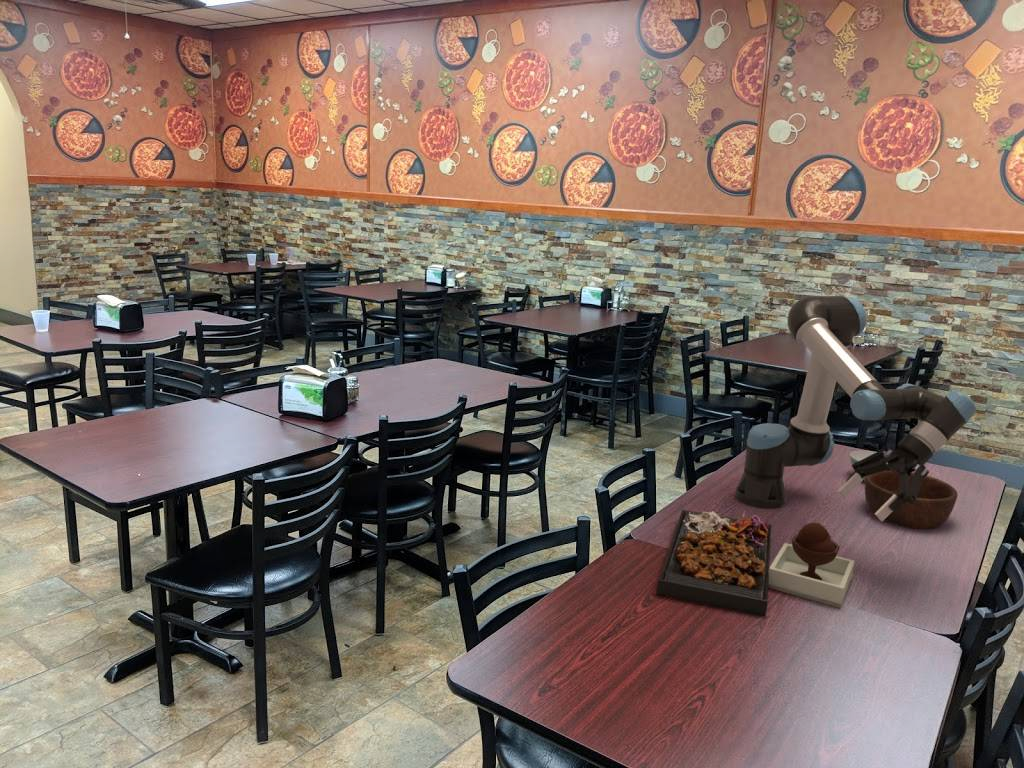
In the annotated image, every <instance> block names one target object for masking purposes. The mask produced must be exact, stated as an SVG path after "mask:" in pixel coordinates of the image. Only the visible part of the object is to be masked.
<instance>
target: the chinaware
mask: <svg viewBox="0 0 1024 768" xmlns="http://www.w3.org/2000/svg"><path fill="white" fill-rule="evenodd" d="M876 452H877V451H871V450H856V451H852V452H850V453H849V459H850V464H851V466H852V465H853V464H854V463H856V462H858V461H860V460H862V459H864V458H866V457H868V456H870V455H872V454H874V453H876ZM887 464H888V462H887ZM865 477H866V476H865ZM865 477H863V480H864V482H865Z"/></svg>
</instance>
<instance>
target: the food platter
mask: <svg viewBox="0 0 1024 768" xmlns="http://www.w3.org/2000/svg"><path fill="white" fill-rule="evenodd" d="M745 515H746V510H743V513H742V519H740V518H735V517H728V516H723V515H722V516H721V515H718V513H716V512H715V511H713V510H712V511H710V512H708V511H702V512H698V511H693V510H687V509H682V510H681V512H680V515H679V518H678V522H677V524H676V528H675V530H674V533H673V535H672V536H673V537H672V539H671V543H670V545H669V549H668V552H667V554H666V558H665V560H664V563H663V567H662V569H661V572H660V575H659V578H658V582H657V589H656V590H657V591H656V592H657V593H656V595H657V596H660V597H666V598H670V599H676V600H679V601H685V602H690V603H695V604H701V605H706V606H711V607H716V608H721V609H725V610H730V611H736V612H741V613H745V614H746V613H747V614H751V615H755V616H760V617H765V618H766V617H767V610H768V609H767V608H768V603H769V602H768V599H769V588H768V583H769V573H768V572H769V568H770V561H771V560H770V558H771V542H772V541H771V540H772V539H771V537H772V524H769V523H768V520H769V516H770V513H768V514H767V517H766V520H765V521H762V519H760V517H759V516H757V515H755V514H753V515H752V516H751V517H750V518H746V516H745Z"/></svg>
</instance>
